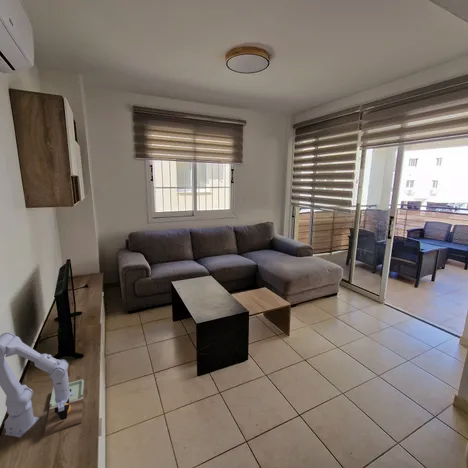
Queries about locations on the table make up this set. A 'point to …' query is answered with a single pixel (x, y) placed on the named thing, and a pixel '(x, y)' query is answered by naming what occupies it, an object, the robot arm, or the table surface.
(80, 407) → the lane
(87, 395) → the table surface
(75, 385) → the tray
